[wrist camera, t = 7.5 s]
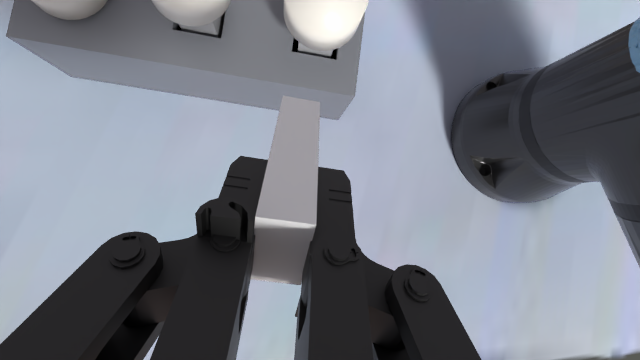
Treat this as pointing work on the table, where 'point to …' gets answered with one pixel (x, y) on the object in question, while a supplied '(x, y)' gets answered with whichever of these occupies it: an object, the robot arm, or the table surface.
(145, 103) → the table surface
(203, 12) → the button middle
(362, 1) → the button right
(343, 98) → the console
